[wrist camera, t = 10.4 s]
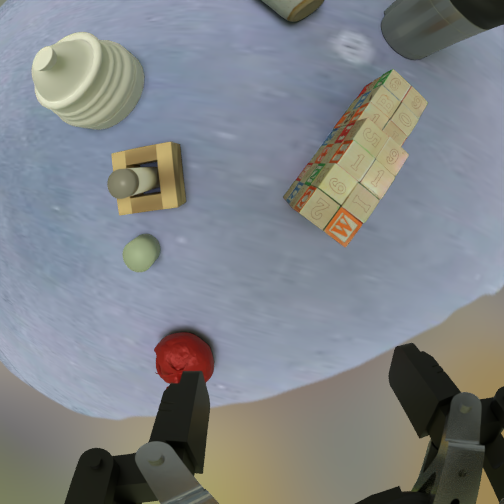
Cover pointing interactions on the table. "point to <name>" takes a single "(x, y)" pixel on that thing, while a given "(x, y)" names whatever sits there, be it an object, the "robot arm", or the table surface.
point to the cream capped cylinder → (133, 181)
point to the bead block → (168, 176)
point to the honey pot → (88, 80)
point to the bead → (141, 252)
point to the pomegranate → (183, 357)
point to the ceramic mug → (293, 8)
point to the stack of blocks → (358, 158)
